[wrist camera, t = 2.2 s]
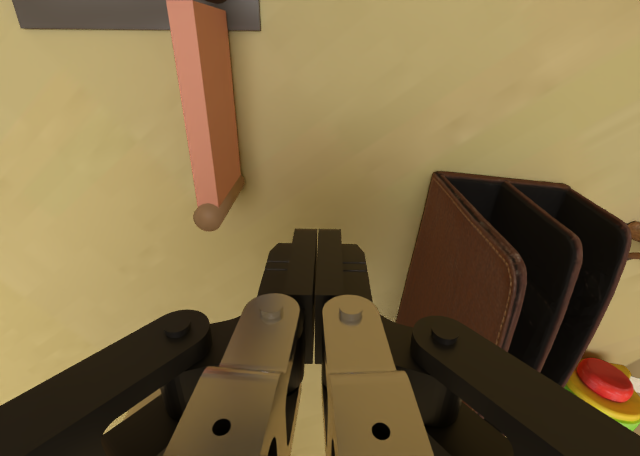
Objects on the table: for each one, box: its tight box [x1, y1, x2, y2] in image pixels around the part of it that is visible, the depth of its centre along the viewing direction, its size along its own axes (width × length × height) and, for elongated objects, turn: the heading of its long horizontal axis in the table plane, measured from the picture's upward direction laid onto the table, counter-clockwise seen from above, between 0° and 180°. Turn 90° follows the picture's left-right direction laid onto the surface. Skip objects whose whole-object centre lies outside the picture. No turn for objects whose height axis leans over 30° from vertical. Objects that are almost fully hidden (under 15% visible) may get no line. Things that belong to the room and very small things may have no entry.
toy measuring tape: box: [564, 358, 640, 431], centre depth 33 cm, size 6×20×7 cm, turn 79°
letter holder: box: [396, 171, 632, 436], centre depth 25 cm, size 10×20×14 cm, turn 174°
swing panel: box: [166, 0, 244, 231], centre depth 22 cm, size 12×2×6 cm, turn 179°
